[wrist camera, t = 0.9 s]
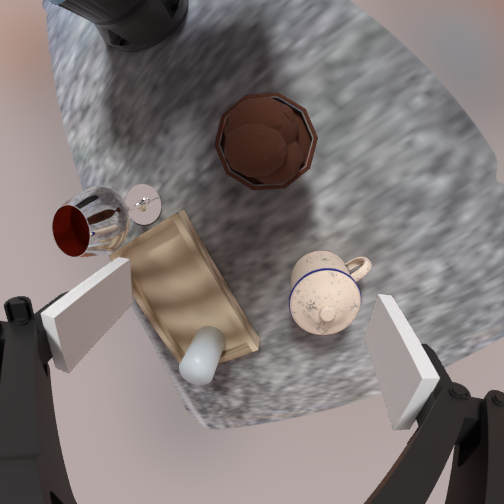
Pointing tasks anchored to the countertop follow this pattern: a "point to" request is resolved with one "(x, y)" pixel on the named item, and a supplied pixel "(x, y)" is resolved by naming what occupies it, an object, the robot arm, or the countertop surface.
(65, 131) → the countertop surface
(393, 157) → the countertop surface
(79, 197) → the wineglass
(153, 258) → the tray
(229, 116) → the ice cream bowl
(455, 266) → the countertop surface
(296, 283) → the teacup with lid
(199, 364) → the white rounded capsule
